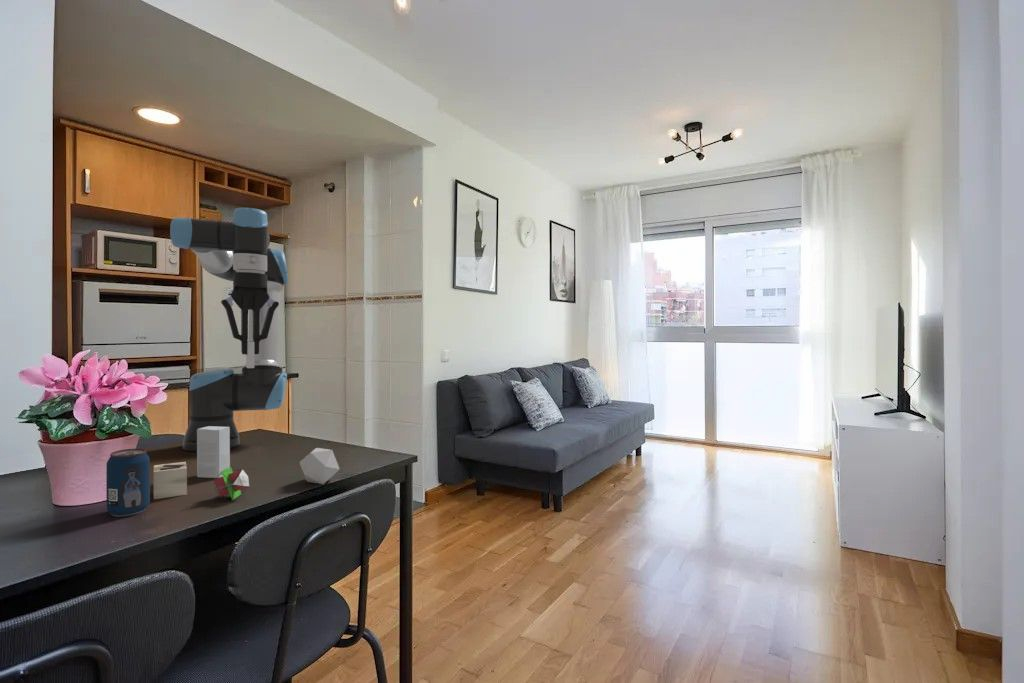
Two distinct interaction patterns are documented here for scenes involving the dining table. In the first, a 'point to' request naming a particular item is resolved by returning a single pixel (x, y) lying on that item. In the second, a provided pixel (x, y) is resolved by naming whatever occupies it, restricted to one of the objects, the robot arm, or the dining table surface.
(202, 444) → the skincare box
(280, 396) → the robot arm
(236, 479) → the geometric puzzle
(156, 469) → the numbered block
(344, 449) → the dining table surface
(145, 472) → the soda can
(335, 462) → the die
